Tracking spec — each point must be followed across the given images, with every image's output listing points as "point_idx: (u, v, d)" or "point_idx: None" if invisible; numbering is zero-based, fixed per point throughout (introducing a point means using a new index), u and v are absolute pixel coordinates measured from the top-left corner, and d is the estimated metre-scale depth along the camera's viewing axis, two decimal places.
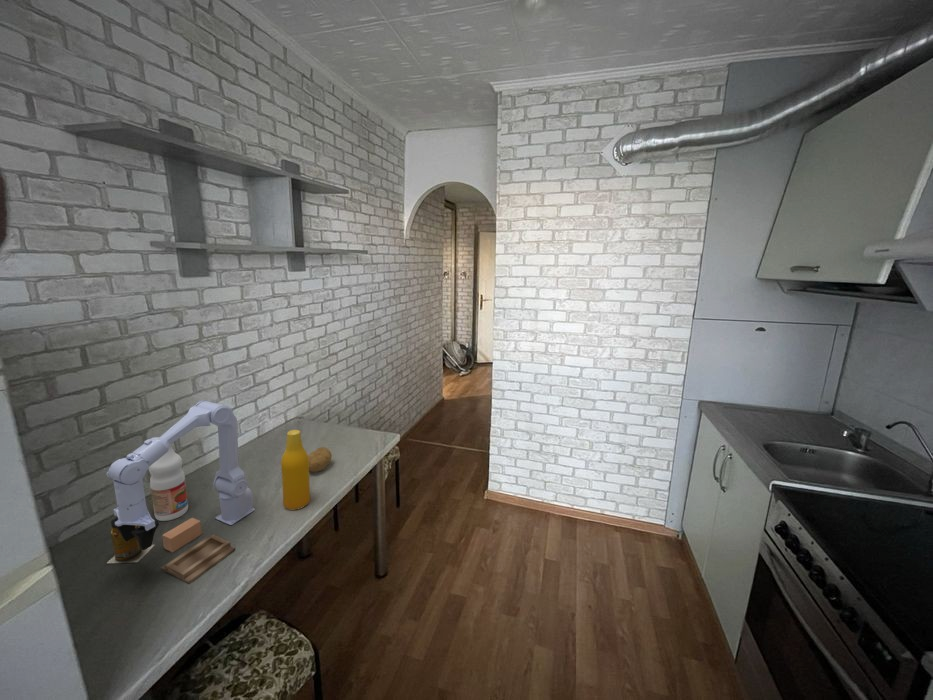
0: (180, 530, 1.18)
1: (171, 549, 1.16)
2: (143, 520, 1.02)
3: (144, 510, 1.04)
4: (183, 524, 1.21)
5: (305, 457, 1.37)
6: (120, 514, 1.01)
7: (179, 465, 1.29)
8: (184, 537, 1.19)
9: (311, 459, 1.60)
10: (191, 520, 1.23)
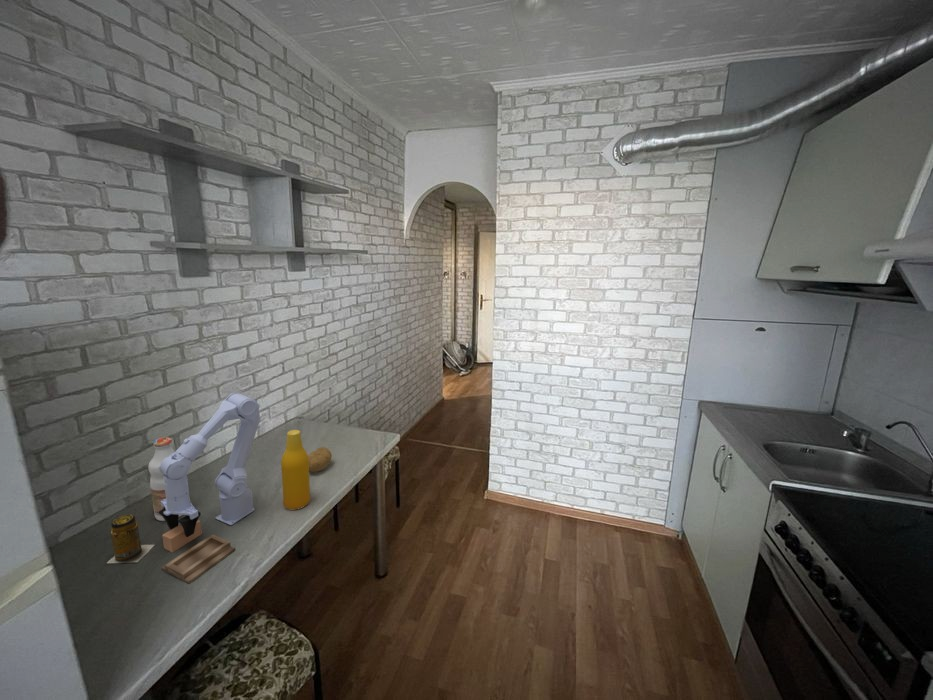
0: (180, 530, 1.18)
1: (171, 549, 1.16)
2: (188, 510, 1.16)
3: (188, 502, 1.18)
4: None
5: (305, 457, 1.37)
6: (168, 505, 1.15)
7: None
8: (184, 537, 1.19)
9: (311, 459, 1.60)
10: None
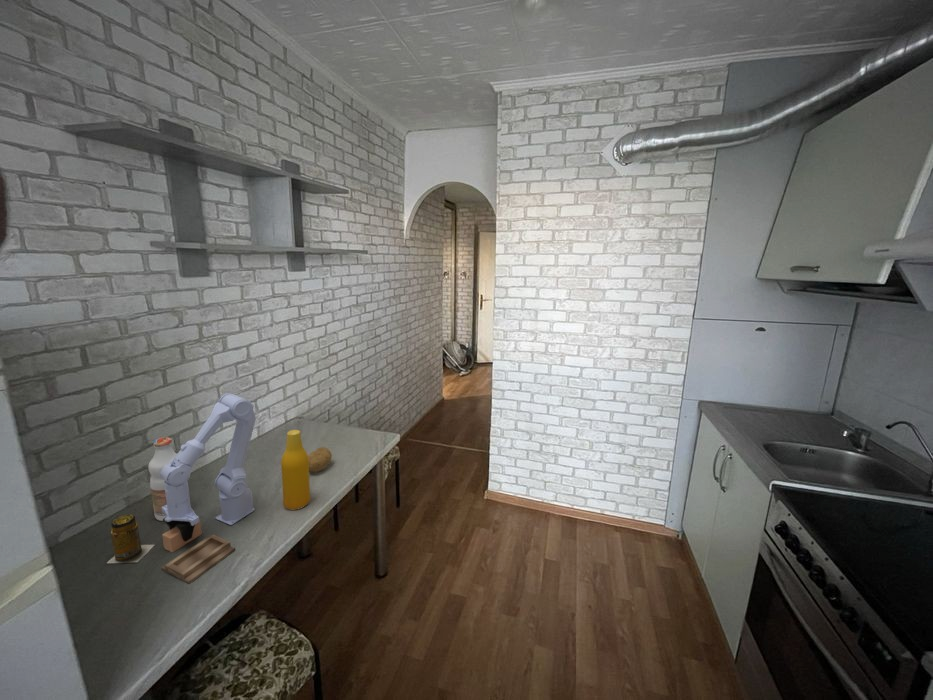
0: None
1: (171, 549, 1.16)
2: (189, 516, 1.17)
3: (189, 508, 1.19)
4: None
5: (305, 457, 1.37)
6: (169, 511, 1.15)
7: None
8: None
9: (311, 459, 1.60)
10: None
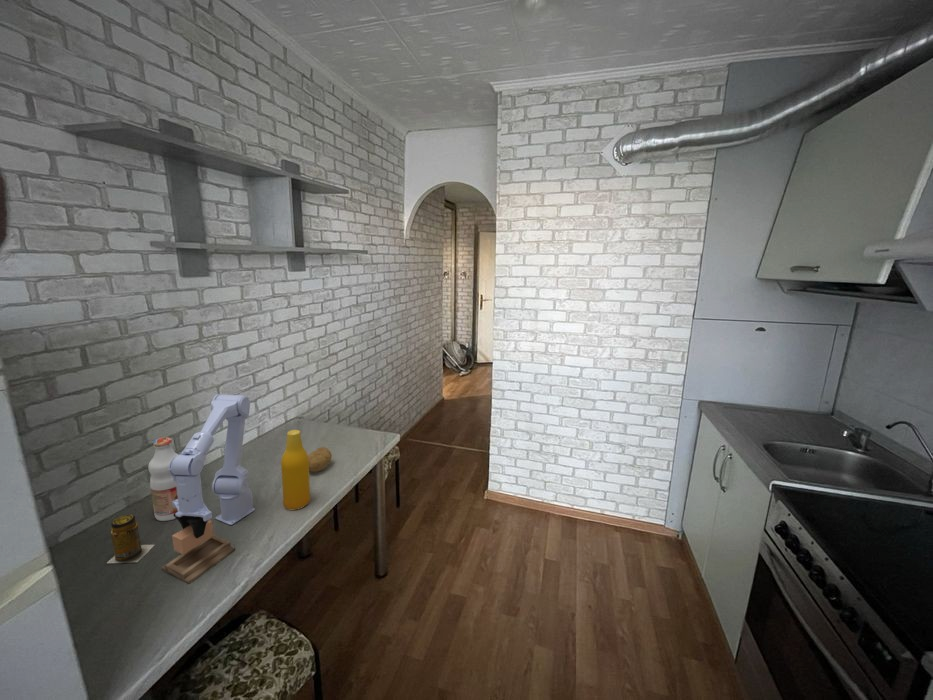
0: (191, 531, 1.11)
1: (181, 551, 1.08)
2: (201, 511, 1.09)
3: (201, 502, 1.11)
4: None
5: (305, 457, 1.37)
6: (180, 506, 1.08)
7: None
8: (196, 538, 1.11)
9: (311, 459, 1.60)
10: None
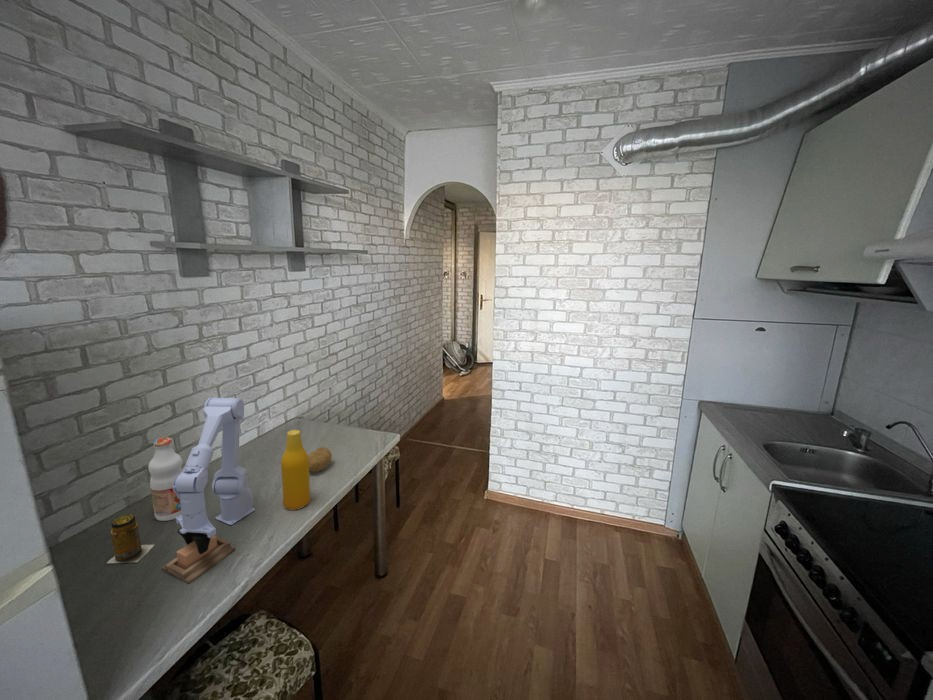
0: (195, 547, 1.11)
1: (186, 567, 1.09)
2: (205, 528, 1.09)
3: (205, 518, 1.11)
4: None
5: (305, 457, 1.37)
6: (184, 522, 1.08)
7: (179, 465, 1.29)
8: None
9: (311, 459, 1.60)
10: None
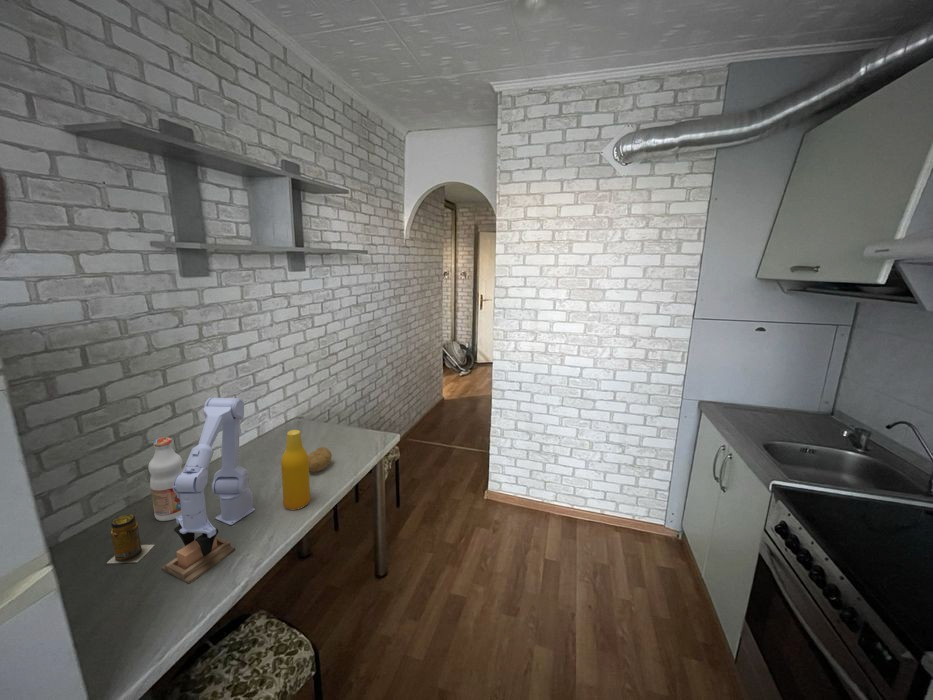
0: (195, 547, 1.11)
1: (186, 567, 1.09)
2: (205, 528, 1.09)
3: (205, 518, 1.11)
4: None
5: (305, 457, 1.37)
6: (184, 522, 1.08)
7: (179, 465, 1.29)
8: (200, 553, 1.12)
9: (311, 459, 1.60)
10: None
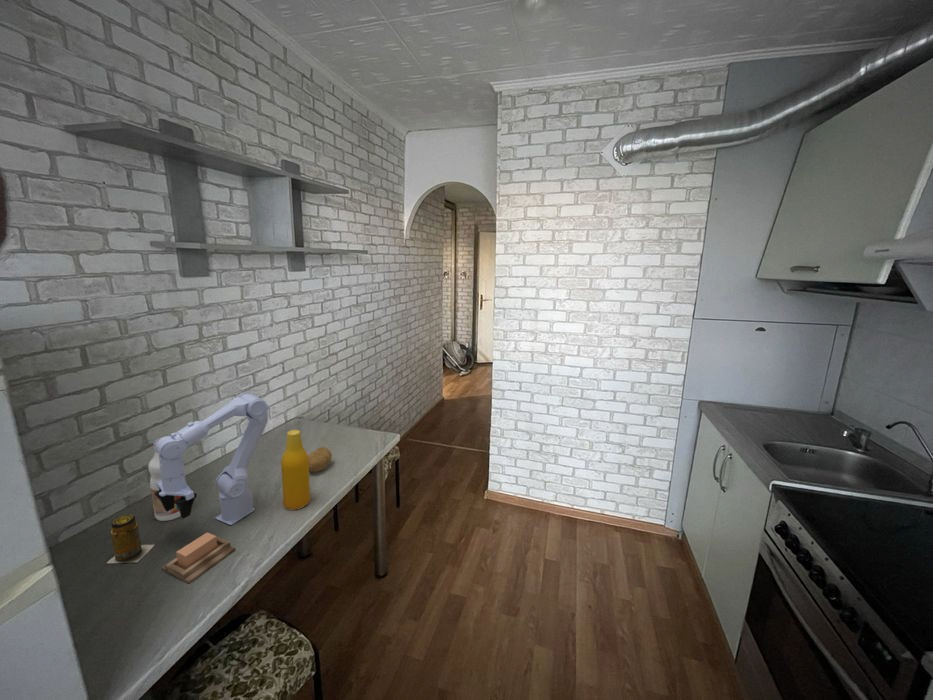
0: (195, 547, 1.11)
1: (186, 567, 1.09)
2: (183, 491, 1.15)
3: (184, 483, 1.17)
4: (198, 540, 1.14)
5: (305, 457, 1.37)
6: (164, 486, 1.14)
7: None
8: (200, 553, 1.12)
9: (311, 459, 1.60)
10: (206, 535, 1.16)
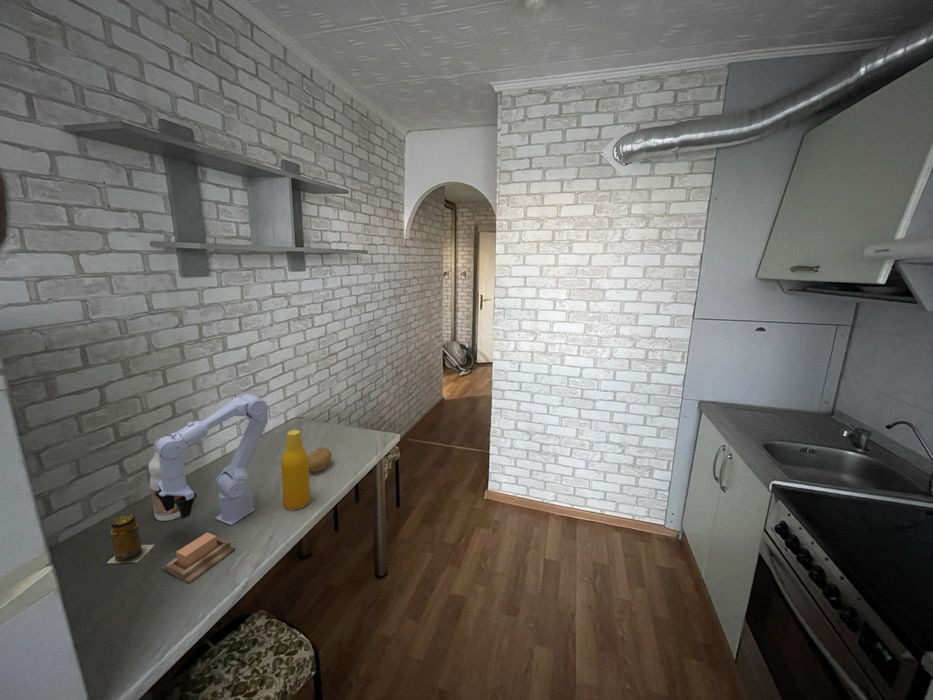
0: (195, 547, 1.11)
1: (186, 567, 1.09)
2: (183, 491, 1.15)
3: (184, 483, 1.17)
4: (198, 540, 1.14)
5: (305, 457, 1.37)
6: (164, 486, 1.14)
7: None
8: (200, 553, 1.12)
9: (311, 459, 1.60)
10: (206, 535, 1.16)
